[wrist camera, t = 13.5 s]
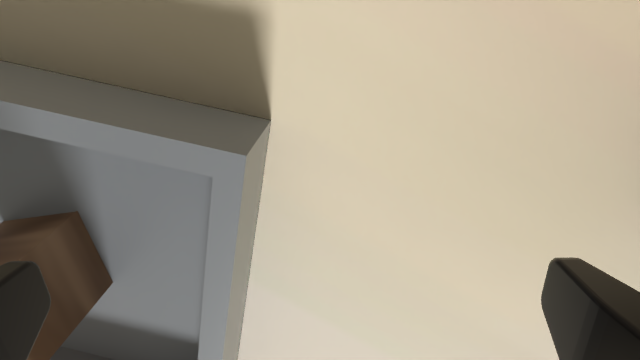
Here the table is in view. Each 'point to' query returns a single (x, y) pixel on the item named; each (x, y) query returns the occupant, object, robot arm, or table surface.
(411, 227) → the table surface
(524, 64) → the table surface
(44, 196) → the box
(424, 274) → the table surface
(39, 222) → the brown tall block
